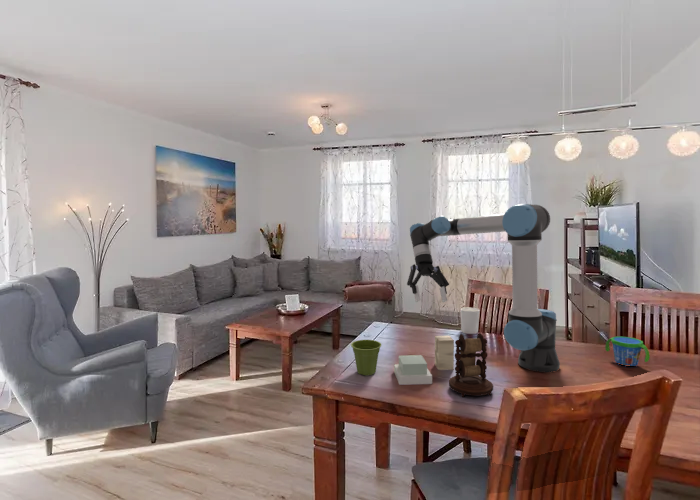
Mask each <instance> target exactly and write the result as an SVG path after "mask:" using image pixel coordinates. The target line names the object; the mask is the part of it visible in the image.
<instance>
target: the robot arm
mask: <svg viewBox="0 0 700 500" xmlns="http://www.w3.org/2000/svg"><path fill="white" fill-rule="evenodd" d="M550 223H551V216H550V213H549V211H548V210H547V208H545V207H543V205H540V204H529V203H520V204H515V205H512V206H511V207H509V208H508V209H507V210H506V211H505V212H504V213H499V214H489V215H480V216H470V217H469V216H468V217H461V218H452V219H448V217H445V216H444V215H440V216H438V217H434V218H433V219H432V220H430V221H428V222H427V223H425V224H424V223H423V222H418V223H414V224H412V225H410V228H409V235H410V240H411V244H412V250H413V255H414V262H415V263H414V264H412V265H411V266H410V272H409V276H408V279H407V282H406V285H407V286H409V288H411V290H412V294H413V295H414V299H415V303H418V302H420V301H421V295H420V289H419V285H417V284H418V282H419V281H420V279H421V277H430V278H432V280H433V281H434V282H435V283H436V284H437V285H438V286H439V292H440V298H441V302H442V303H445V302H447V301H448V297H447V294H448V291H447V287H448V286H449V285H450V283H449V281H448V279H446V276H445V275H444V273H443V272H442V271H441V268H440V265H437V266H434V265H433V258H432V251H431V247H430V241H432V240H434V239H436V238H438V237H445V236H446V237H447V236H461V235H473V234H489V233H503V232H506V234H507V242H508V243H509V244H510V245H511V263H512V264H511V270H512V273H511V274H512V277H511V278H512V279H511V280H512V286H511V287H512V308H511V309H510V310H509V311H508V322H507V323H506V324H505V326H504V327H503V336H504V338H505V341H506V342H507V343H508V344H509V345H510V347H512V348H513V349H515V350H518V351H519V355H518V361H517V363H518V365H519V366H520V367H521V368H524V369H527V370H530V371H533V372H538V371H539V372H538V373H554V372H553V371H555V372H558V371H559V370H560V369H559V368H561V367H560V365H561V363H560V359H559V357H558V354H557V353H558V352H557V349H556V341H557V340H556V337H557V336H556V334H557V333H556V332H557V321H558V320H557V314H556V312H555V311H554V310H553V311H552V310H549V309H543V308H538V244H540V243H541V242H542V239H543V238H542V236H543V235H542V233H543V232H545V231H546V230H547V229H548V227H549V225H550ZM416 271H417V272H418V273H417V274H416ZM415 274H416V276H415ZM558 369H559V370H558ZM557 370H558V371H557Z"/></svg>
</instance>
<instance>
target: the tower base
mask: <svg viewBox="0 0 700 500" xmlns="http://www.w3.org/2000/svg"><path fill="white" fill-rule="evenodd" d="M393 367H394V368H393V373H394V375H395V377H396V380H397V383H398V385H399V386H402V385H403V386H404V385H405V386H407V385H432V384H433V374H432V373H431V371H430V370H429V369H428V362H427V361H426V359H425V358H424V356H423V355H421V354H414V355H398V363H397V364H394V365H393Z"/></svg>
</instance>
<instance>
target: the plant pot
mask: <svg viewBox="0 0 700 500" xmlns="http://www.w3.org/2000/svg"><path fill="white" fill-rule="evenodd" d="M350 346H351V347H352V351H353V354H354V359H355V360H354V361H355V367H356V371H357V374H359V375H363V376H372V375H374V374H375V373H376V371H377V365H378V359H379V353H380V350H381V349H380V348H381V347H382V342H380V341H378V340H373V339H359V340H354V341H353V342H351V344H350Z"/></svg>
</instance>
